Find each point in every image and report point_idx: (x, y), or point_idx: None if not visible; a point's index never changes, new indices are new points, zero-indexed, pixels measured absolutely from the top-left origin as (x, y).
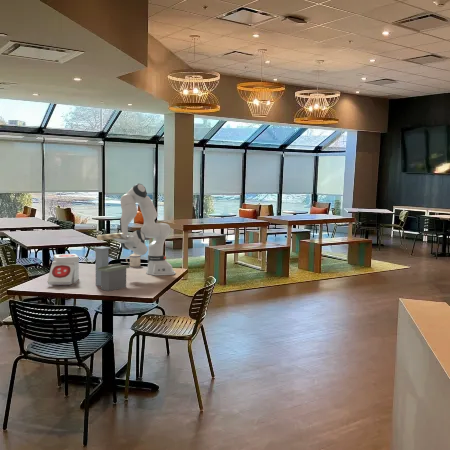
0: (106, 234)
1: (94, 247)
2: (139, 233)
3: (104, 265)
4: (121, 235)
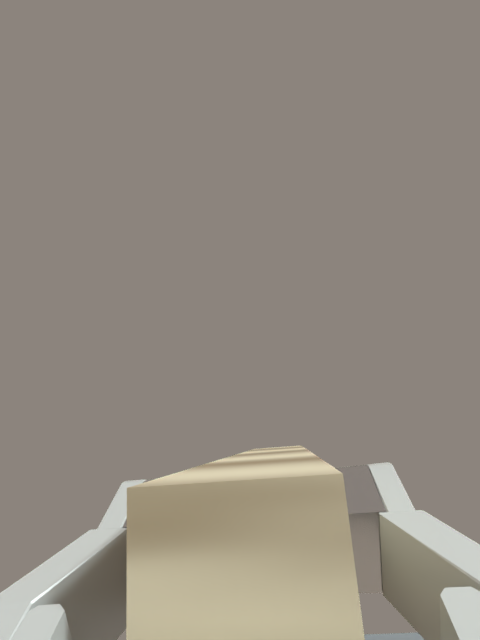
0: (289, 449)
1: None
2: None
3: None
4: None
